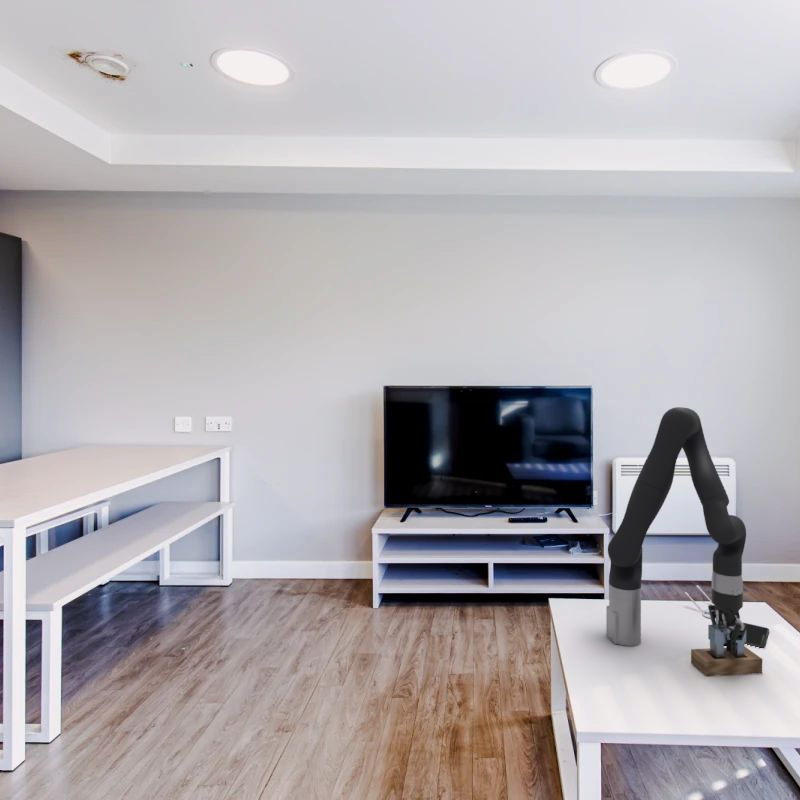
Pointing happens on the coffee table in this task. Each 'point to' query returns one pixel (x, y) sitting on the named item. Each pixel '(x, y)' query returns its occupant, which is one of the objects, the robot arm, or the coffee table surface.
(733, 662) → the two-pocket wooden block
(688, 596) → the silver thin wire frame
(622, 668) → the coffee table surface
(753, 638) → the phone
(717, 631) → the brushed steel block
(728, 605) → the robot arm
